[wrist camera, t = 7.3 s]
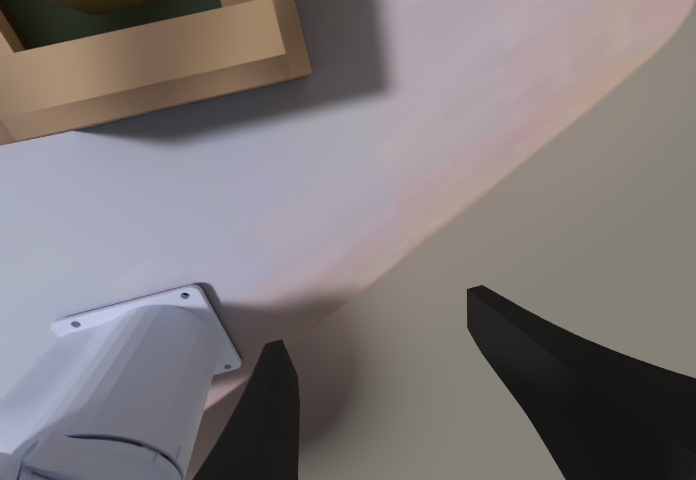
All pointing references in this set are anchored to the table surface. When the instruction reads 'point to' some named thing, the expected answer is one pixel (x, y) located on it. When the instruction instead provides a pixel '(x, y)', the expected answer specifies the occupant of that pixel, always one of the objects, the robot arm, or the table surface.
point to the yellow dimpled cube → (101, 5)
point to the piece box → (137, 59)
